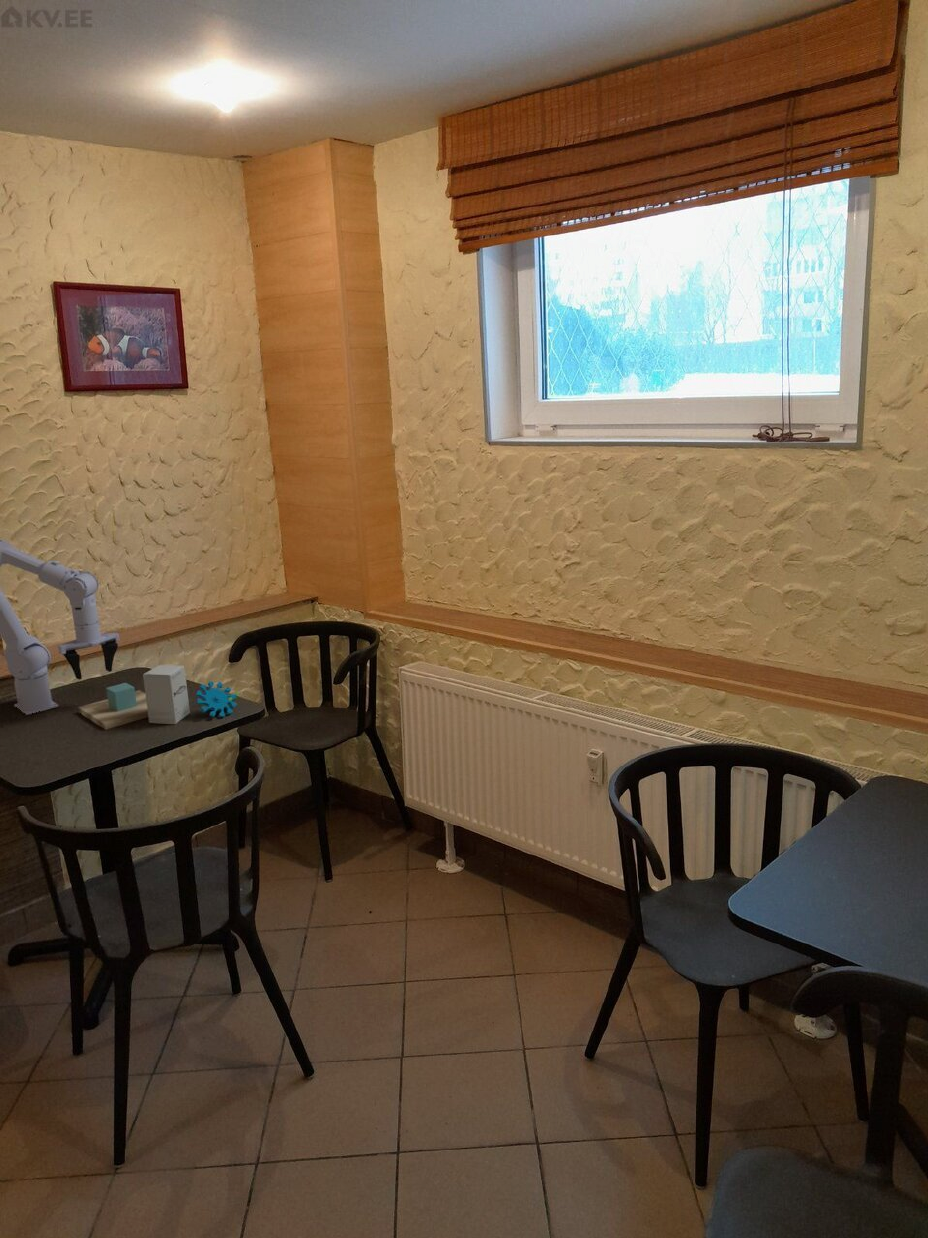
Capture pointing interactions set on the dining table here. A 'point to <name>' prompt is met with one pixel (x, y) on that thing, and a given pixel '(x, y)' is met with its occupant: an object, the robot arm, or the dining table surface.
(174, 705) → the supplement box
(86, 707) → the post board
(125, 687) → the mint green cube
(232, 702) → the gear
